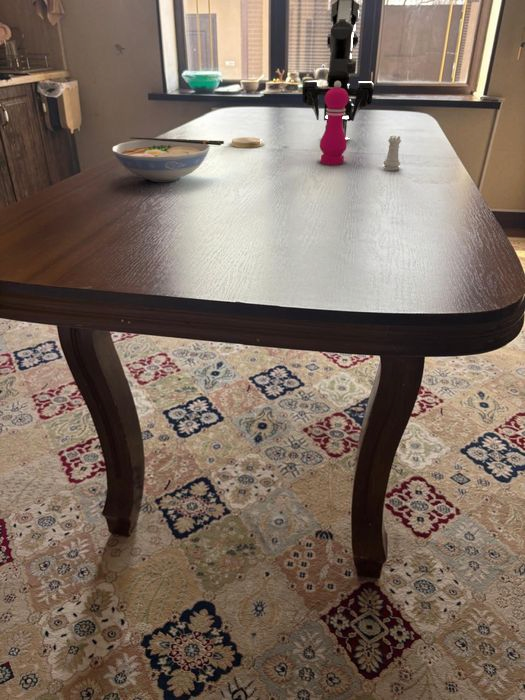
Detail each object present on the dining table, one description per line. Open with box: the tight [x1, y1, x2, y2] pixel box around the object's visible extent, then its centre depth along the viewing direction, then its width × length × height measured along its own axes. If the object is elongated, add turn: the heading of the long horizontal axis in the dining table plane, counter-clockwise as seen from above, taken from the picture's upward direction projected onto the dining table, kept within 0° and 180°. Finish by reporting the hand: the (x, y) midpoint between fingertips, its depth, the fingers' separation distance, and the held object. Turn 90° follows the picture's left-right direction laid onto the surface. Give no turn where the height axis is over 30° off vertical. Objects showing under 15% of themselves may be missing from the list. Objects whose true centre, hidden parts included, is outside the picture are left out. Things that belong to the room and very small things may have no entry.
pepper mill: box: [319, 81, 348, 166], centre depth 138 cm, size 7×7×20 cm
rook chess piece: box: [382, 135, 402, 172], centre depth 134 cm, size 4×4×8 cm
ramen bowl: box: [111, 137, 225, 183], centre depth 124 cm, size 25×23×8 cm
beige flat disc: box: [230, 136, 263, 149], centre depth 164 cm, size 10×10×2 cm
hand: (335, 119), depth 138 cm, fingers open, 9 cm apart
